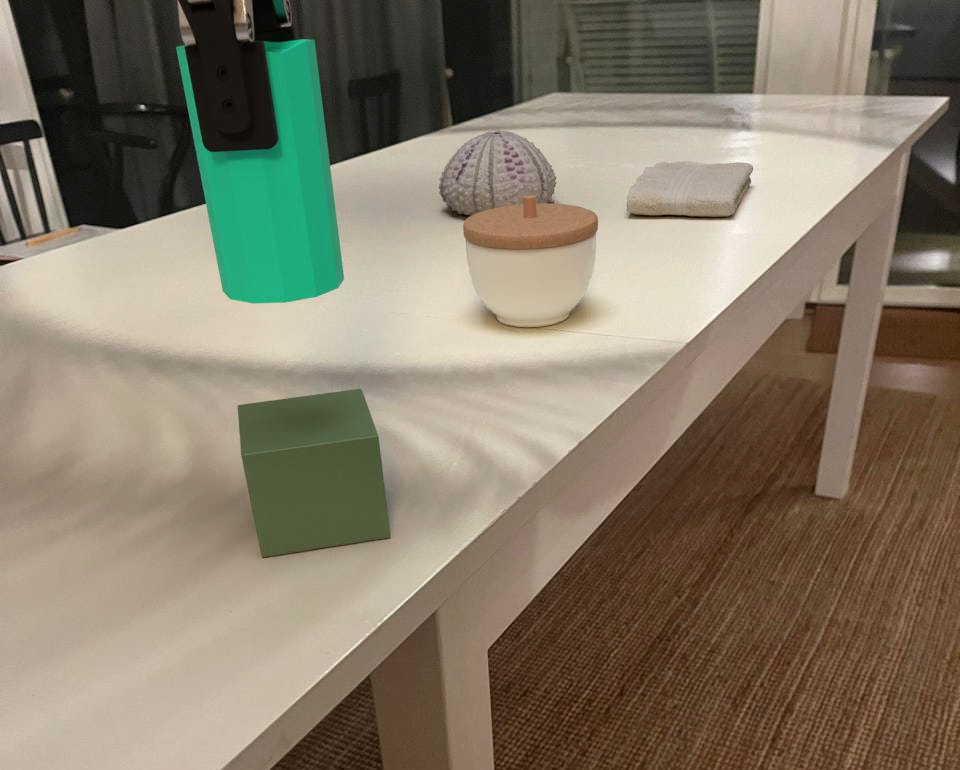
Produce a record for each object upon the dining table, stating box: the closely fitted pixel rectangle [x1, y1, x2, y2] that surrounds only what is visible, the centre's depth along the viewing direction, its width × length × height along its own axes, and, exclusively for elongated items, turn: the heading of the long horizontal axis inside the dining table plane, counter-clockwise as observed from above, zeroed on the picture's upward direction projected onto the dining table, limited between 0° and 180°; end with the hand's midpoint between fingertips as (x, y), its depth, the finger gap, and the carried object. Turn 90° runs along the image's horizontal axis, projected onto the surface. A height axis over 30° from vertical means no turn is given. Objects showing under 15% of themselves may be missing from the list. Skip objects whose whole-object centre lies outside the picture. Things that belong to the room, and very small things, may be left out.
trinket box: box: [462, 195, 599, 328], centre depth 84 cm, size 11×11×9 cm
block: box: [237, 388, 391, 558], centre depth 57 cm, size 7×7×6 cm
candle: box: [175, 38, 345, 304], centre depth 48 cm, size 6×6×12 cm
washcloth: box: [626, 160, 754, 218], centre depth 117 cm, size 12×18×3 cm, turn 162°
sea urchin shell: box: [438, 130, 557, 217], centre depth 117 cm, size 13×14×8 cm
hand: (258, 131), depth 47 cm, fingers closed on candle, 5 cm apart
